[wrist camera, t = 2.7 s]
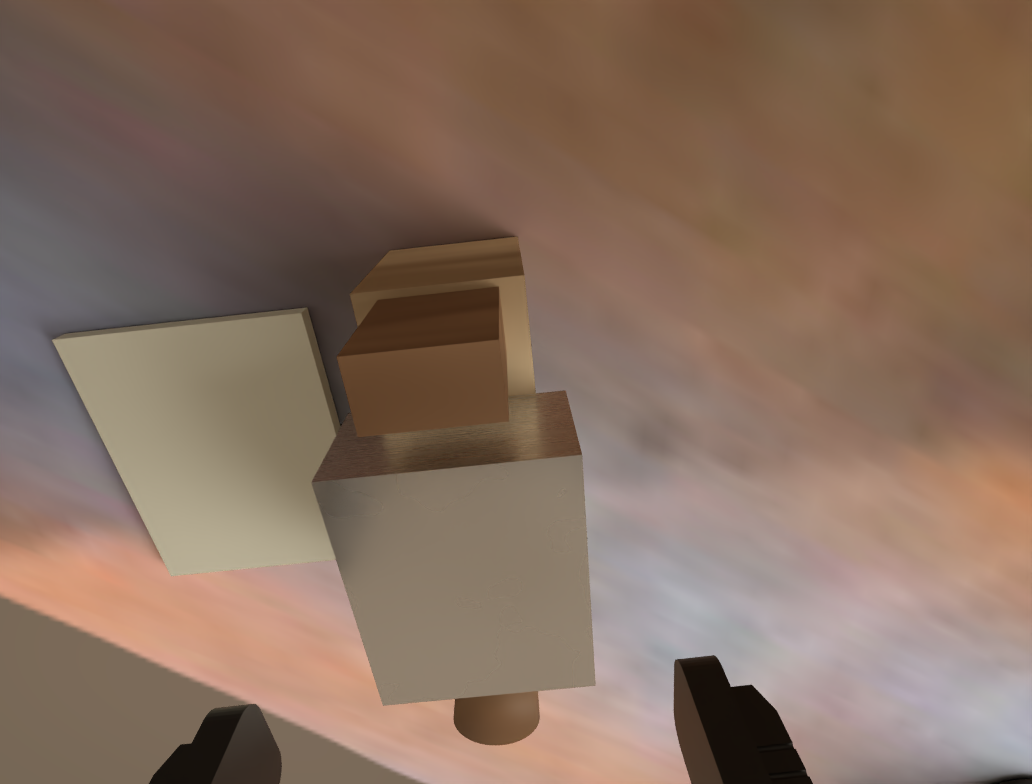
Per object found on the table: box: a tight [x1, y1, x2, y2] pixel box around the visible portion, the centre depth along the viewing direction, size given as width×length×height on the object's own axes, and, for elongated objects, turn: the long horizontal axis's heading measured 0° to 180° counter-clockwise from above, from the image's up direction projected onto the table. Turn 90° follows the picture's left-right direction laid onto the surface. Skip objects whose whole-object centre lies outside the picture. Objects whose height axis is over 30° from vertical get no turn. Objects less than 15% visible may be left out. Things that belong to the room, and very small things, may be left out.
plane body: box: [337, 237, 540, 745], centre depth 16 cm, size 13×4×8 cm, turn 6°
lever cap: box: [311, 390, 595, 706], centre depth 14 cm, size 7×6×3 cm
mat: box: [52, 308, 341, 576], centre depth 20 cm, size 10×8×1 cm
